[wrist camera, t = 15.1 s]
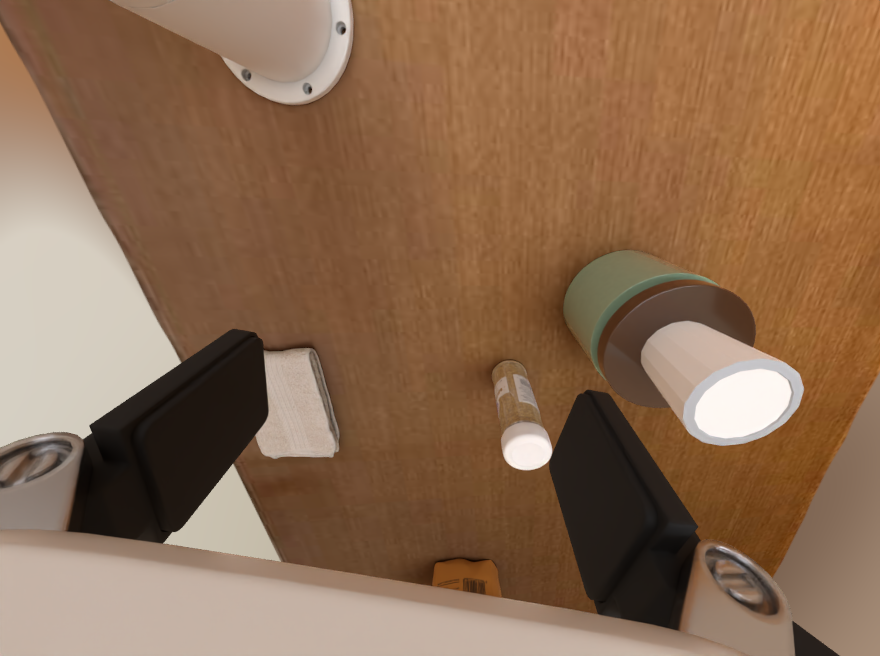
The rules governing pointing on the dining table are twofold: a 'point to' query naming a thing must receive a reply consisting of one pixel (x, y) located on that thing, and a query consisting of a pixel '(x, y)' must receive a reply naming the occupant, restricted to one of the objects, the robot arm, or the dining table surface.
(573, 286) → the jar
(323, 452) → the washcloth
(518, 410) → the sprinkles bottle
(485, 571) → the coffee package
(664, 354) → the white tapered cup
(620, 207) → the dining table surface
